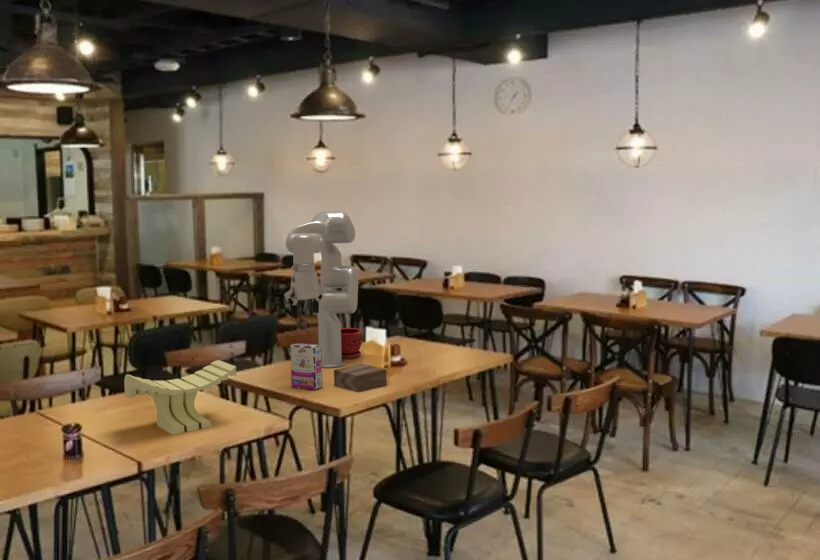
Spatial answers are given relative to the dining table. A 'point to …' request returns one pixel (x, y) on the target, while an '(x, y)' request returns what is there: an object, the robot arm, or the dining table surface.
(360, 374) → the walnut riser
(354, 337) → the plant pot
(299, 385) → the candy bar box
